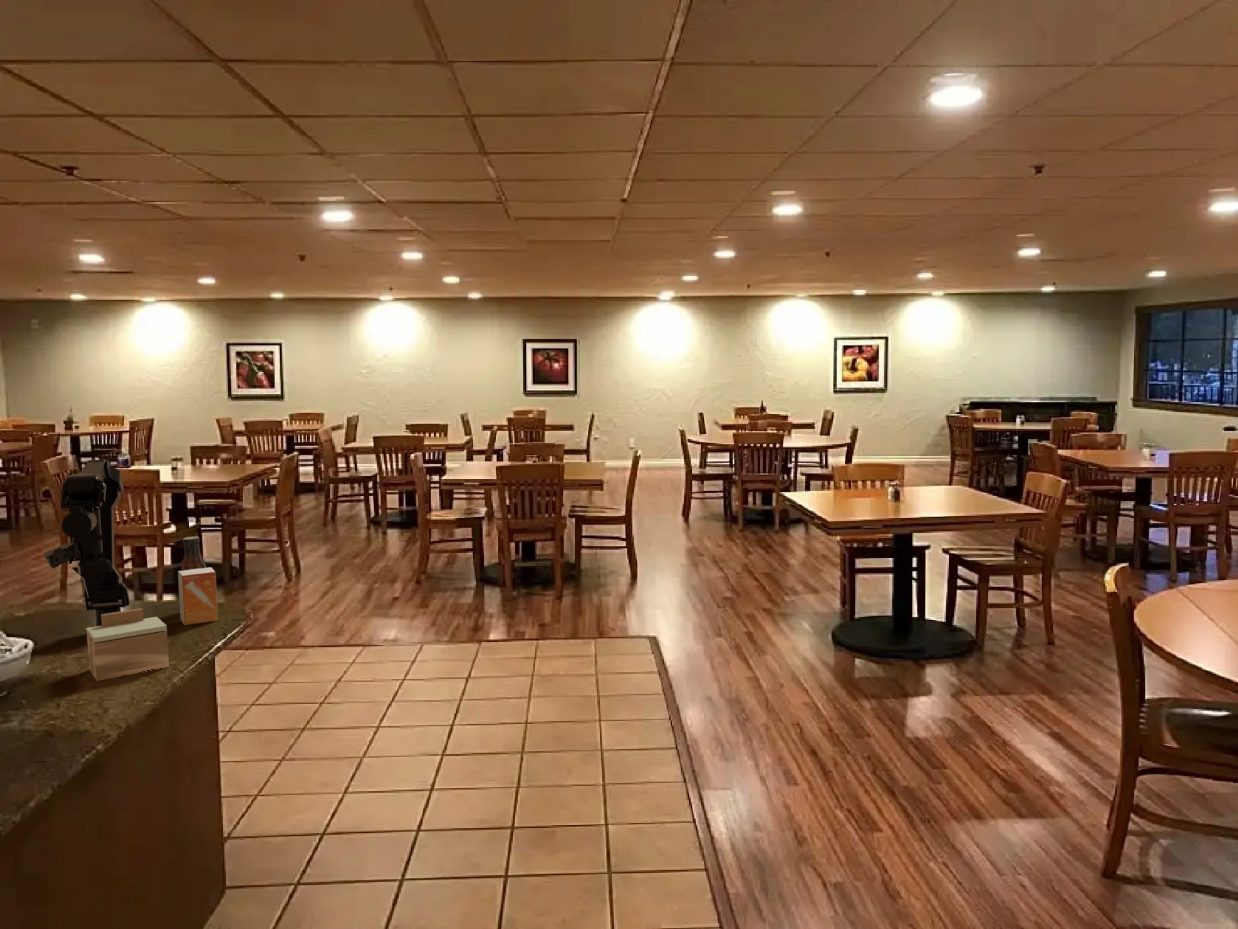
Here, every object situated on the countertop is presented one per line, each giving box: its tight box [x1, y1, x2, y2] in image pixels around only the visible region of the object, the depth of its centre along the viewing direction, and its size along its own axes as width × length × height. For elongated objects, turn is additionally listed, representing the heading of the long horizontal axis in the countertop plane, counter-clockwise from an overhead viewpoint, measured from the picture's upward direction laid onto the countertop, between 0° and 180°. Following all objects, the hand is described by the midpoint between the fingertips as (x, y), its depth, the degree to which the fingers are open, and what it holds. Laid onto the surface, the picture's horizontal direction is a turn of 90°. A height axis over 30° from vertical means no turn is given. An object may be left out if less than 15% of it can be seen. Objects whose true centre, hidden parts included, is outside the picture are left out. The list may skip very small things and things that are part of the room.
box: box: [86, 630, 170, 682], centre depth 204 cm, size 9×14×8 cm, turn 128°
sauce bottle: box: [180, 536, 208, 571], centre depth 249 cm, size 7×6×20 cm
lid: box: [85, 607, 168, 643], centre depth 203 cm, size 9×14×4 cm, turn 128°
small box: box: [177, 567, 219, 626], centre depth 240 cm, size 8×6×13 cm
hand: (91, 598), depth 213 cm, fingers closed
